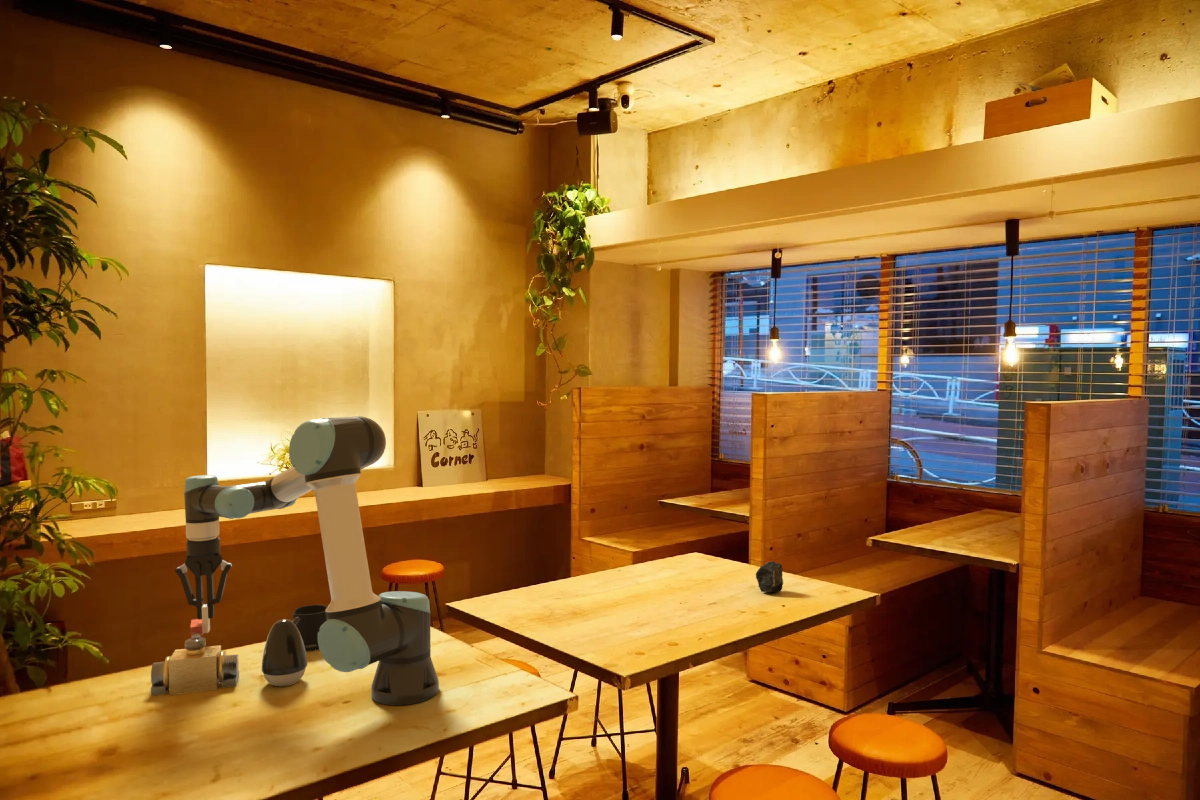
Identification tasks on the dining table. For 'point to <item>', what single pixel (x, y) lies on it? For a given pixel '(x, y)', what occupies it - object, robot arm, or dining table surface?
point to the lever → (195, 636)
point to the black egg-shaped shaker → (284, 654)
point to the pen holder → (310, 624)
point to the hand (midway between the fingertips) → (206, 631)
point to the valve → (194, 671)
